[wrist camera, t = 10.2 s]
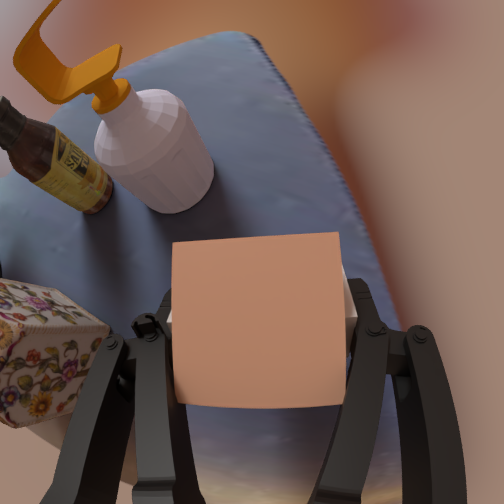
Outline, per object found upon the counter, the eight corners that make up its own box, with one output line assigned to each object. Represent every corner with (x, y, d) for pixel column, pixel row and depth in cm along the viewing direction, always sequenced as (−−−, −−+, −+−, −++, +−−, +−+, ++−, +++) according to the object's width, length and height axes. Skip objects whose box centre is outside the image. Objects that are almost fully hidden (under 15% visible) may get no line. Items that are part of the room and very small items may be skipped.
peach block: (230, 361, 19) (175, 402, 9) (228, 277, 20) (172, 242, 10) (317, 359, 18) (344, 403, 8) (314, 272, 19) (338, 232, 9)
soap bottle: (222, 200, 28) (92, -21, 5) (146, 225, 29) (-36, 93, 5) (208, 136, 30) (120, -46, 7) (140, 161, 31) (16, 23, 7)
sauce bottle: (121, 195, 30) (6, 103, 11) (87, 225, 30) (-35, 160, 11) (107, 163, 32) (12, 76, 13) (76, 191, 32) (-25, 123, 13)
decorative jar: (39, 359, 27) (-61, 362, 10) (55, 286, 29) (-55, 260, 12) (95, 408, 25) (-19, 443, 8) (115, 327, 27) (-25, 323, 9)
